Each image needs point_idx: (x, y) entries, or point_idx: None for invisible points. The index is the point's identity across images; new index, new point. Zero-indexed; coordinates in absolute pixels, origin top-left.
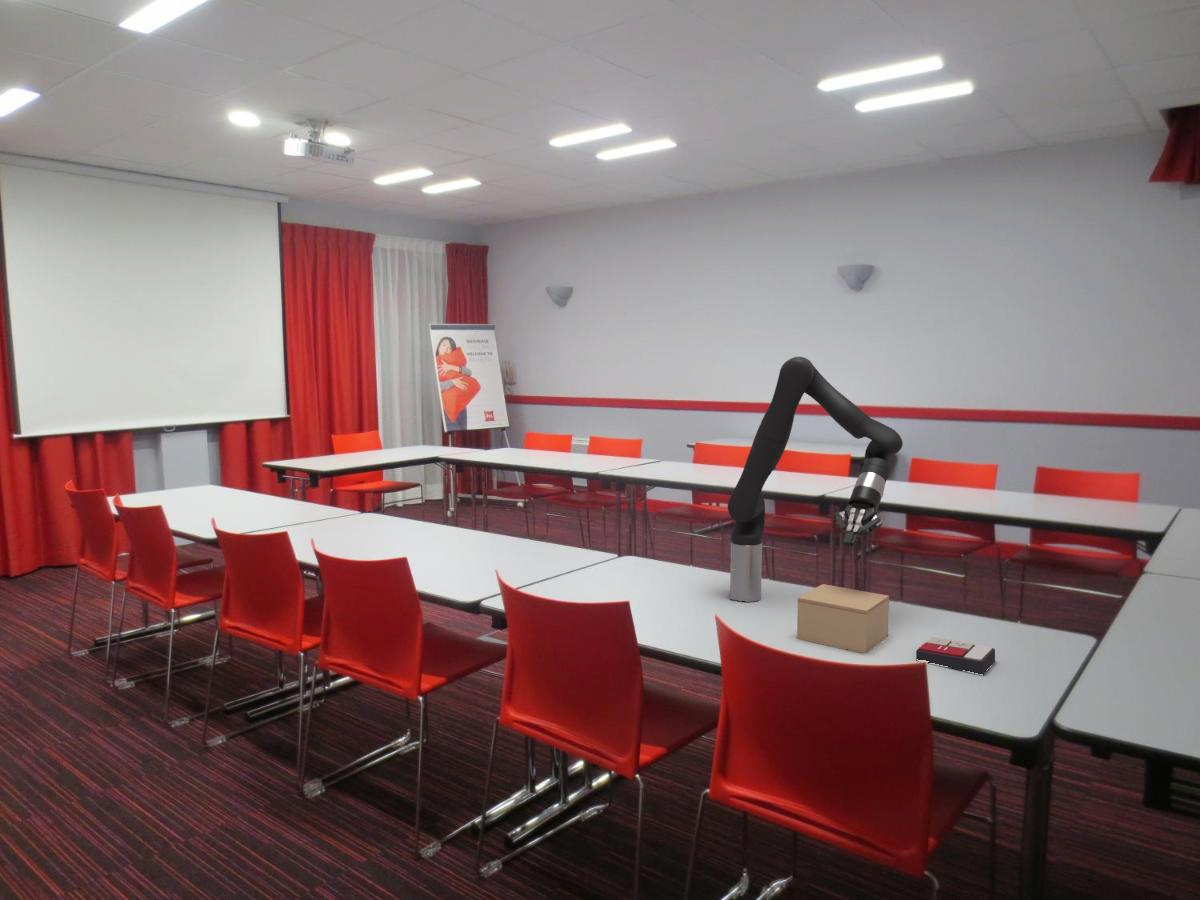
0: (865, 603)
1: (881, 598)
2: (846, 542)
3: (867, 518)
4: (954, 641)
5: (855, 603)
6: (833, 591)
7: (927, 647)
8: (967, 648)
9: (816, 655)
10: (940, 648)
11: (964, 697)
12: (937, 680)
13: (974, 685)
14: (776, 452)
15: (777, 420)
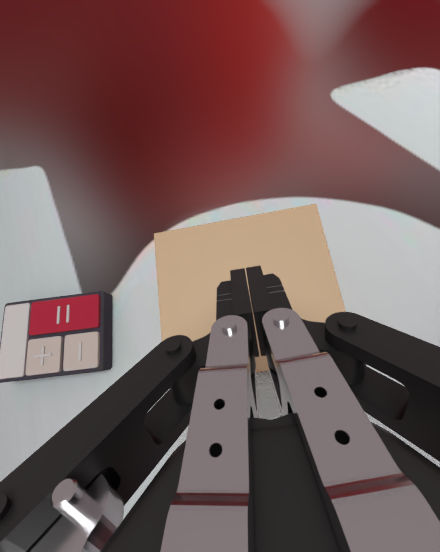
0: (178, 277)
1: None
2: (251, 267)
3: (142, 498)
4: (56, 365)
5: (195, 261)
6: None
7: (86, 304)
8: (30, 341)
9: (231, 206)
10: (67, 312)
11: (30, 223)
12: (67, 247)
13: (26, 266)
14: None
15: None
